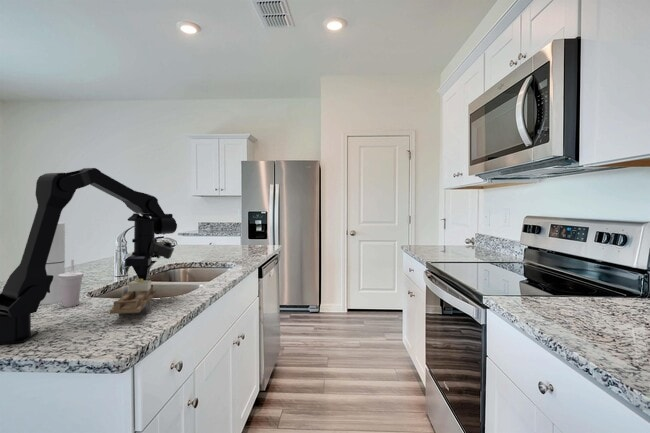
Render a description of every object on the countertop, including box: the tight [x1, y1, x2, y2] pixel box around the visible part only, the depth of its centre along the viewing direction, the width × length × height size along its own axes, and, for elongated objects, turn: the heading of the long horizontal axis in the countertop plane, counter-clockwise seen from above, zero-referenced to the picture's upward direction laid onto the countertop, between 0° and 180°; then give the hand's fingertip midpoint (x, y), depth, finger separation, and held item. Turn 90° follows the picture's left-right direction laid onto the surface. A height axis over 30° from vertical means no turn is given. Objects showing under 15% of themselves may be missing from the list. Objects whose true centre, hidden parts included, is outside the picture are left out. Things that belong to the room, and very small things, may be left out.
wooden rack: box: [109, 284, 157, 317], centre depth 100 cm, size 20×7×6 cm, turn 15°
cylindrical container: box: [39, 222, 66, 305], centre depth 110 cm, size 7×7×25 cm
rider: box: [128, 278, 152, 296], centre depth 104 cm, size 4×5×5 cm
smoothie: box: [58, 259, 84, 308], centre depth 106 cm, size 6×6×14 cm
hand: (143, 284), depth 109 cm, fingers closed
